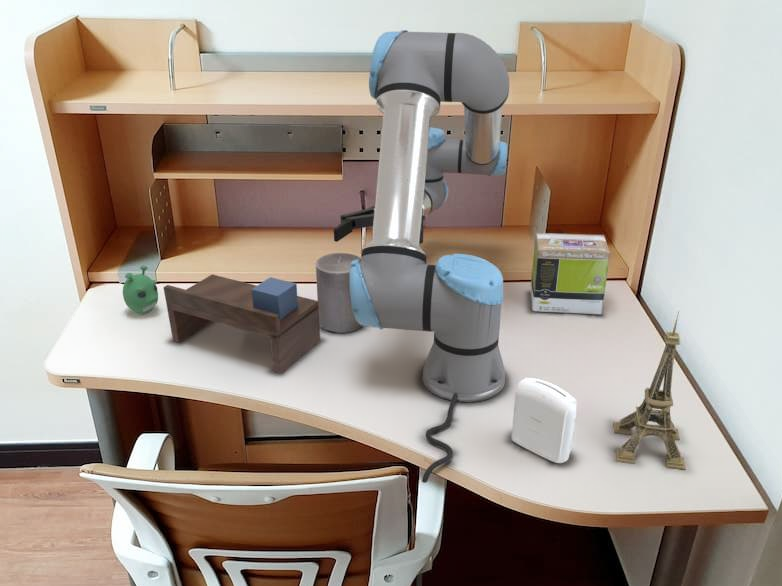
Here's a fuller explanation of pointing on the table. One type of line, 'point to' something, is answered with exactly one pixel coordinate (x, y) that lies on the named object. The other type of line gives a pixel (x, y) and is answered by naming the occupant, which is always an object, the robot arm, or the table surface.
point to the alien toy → (140, 292)
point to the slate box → (275, 296)
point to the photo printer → (544, 419)
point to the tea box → (569, 273)
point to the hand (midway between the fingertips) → (363, 241)
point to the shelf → (243, 316)
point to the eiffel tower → (654, 412)
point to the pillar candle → (335, 293)
